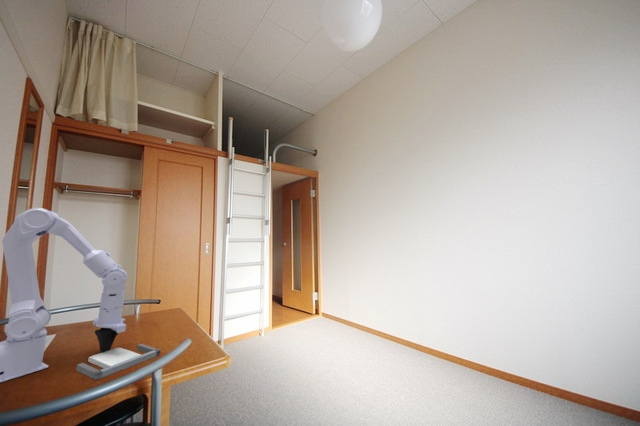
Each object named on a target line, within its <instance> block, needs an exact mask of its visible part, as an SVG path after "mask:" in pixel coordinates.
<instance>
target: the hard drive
mask: <svg viewBox="0 0 640 426" xmlns="http://www.w3.org/2000/svg"><path fill="white" fill-rule="evenodd" d="M140 355H141V354H140V353H138V352H135V351H132V350H129V349H125V348H122V347H121V346H120V347H115V348H111V349H110V350H109V351H106V352H102V353H97V354H93V355H91V356H89V357H88V360H87V362H89V363H91V364H92V365H96V366H98V367H99V368H101V369H104V368H107V367H110V366H113V365H115V364H118V363H121V362H123V361H126V360H129V359H132V358H134V357H137V356H140Z"/></svg>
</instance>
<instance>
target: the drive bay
mask: <svg viewBox="0 0 640 426" xmlns="http://www.w3.org/2000/svg"><path fill="white" fill-rule="evenodd" d="M136 350H137V351H140V352H143V354H140V356H137V357H134V358H132V359H129V360H126V361H123V362H121V363H118V364H115V365H113V366H110V367H107V368H101V369H97V368H95V367H93V366H91V365H89V364H87V363H84V362H81V363H78V364H76V371H77V372H78V373H80V374H83V375H84V376H86V377H89V378H91V379H93V380H95V381H96V380H99V379H102V378H104V377H108V376H111V375H113V374H116V373H118V372H120V371H123V370H125V369H128V368H130V367H133V366H136V365H138V364H141V363H144V362H146V361H148V360H150V359H154V358H156V357H158V356H160V355H161V349H159V348H156V347H153V346H149V345H147V344H144V343H139V344H137V345H136Z"/></svg>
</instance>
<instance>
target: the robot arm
mask: <svg viewBox="0 0 640 426" xmlns="http://www.w3.org/2000/svg"><path fill="white" fill-rule="evenodd" d="M46 234H50V235H54V236H59V237H61V238H62V239H64V241H66V242H67V243H68V244H69V245H71V247H73V248H74V249H75V251H77V252H79V254H81V255H82V256H83V259H82V263H83V264H84V265H85V266H86V267H87V268H88V269H89V270H90V271H91V272H92V273H93V274H94V275H95V276H96V277H97V278H100V279H101V283H102V285H103V289H102V293H101V295H100V298H101V299H100V303H99V310H98V317H95V318H93V323H92V325H93V326H96V327H97V328H99V329H96V330H95V331H94V334H95V336H96V337H97V340H98V346H99V352H100V353H102V352H106V351H109V350H112V347H113V344H114V341H115V339H116V338H117V336H118V334H120V333H123V332H126V329H127V324H125V323H124V322H125V321H126V319H125V318H123V317H122V316H123V307H124V300H125V293H126V291H125V289H126V282H127V280H128V273H127V271H126V269H125V268H122V265H121V264H120V263H119V264H118V263H116V262H115V261H114V260H113V258H112V257H110V256H111V255H112V254H111V253H110V252H109V251H106V252H105V251H104V250H103V249H95V247H93V245H92V244H91V243H90V242H89V241H88V240H87V239H86V238H85V237H84V235H82V234H81V233H80V231H78V230H77V228H76V227H75V226H73V225H72V224H71V223H70V222H69V221H67V220H66V219H65V218H62V217H61V215H60V214H59V213H57V212H56V211H52V210H48V209H46V208H42V207H33V208H32V207H31V208H29V209H27V210H25V211H23V212H22V213H20V214H18V215H17V216H15V218H14V221H13V223H12V225H11V226H10V228H9V229H8V230H7V232H5V235H4V236H3V237H2V241H1V242H2V247H3V248H2V250H3V254H4V260H5V261H4V262H5V267H6V274H7V280H8V287H9V292H10V298H11V299H10V300H11V307H10V310H9V312H8V323H7V324H6V326H5V328H4V329H5V330H4V332H5V336H7V337H6V339H5V340H3V341H0V383H2V382H3V383H4V382H7V381H9V380H13V379H16V378H19V377H23V376H25V375H28V374H32V373H34V372H38V371H41V370H45V369H47V368H49V364H46V362H43V360H44V359H43V358H44V354H45V347H46V342H47V337H48V335H47V334H48V331H47V329H46V327H45V326H47V325H48V324H49V322H50V321H51V318H52V313H51V312H50V310H49V309H48V308H47V307H46V305H45V302H44V300H43V299H42V297H41V294H40V293H41V292H40V287H39V279H38V273H37V268H36V262H35V261H36V260H35V256H34V249H33V243H34V242H36V241H37V240H38V239H41V237H42V236H44V235H46Z"/></svg>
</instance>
